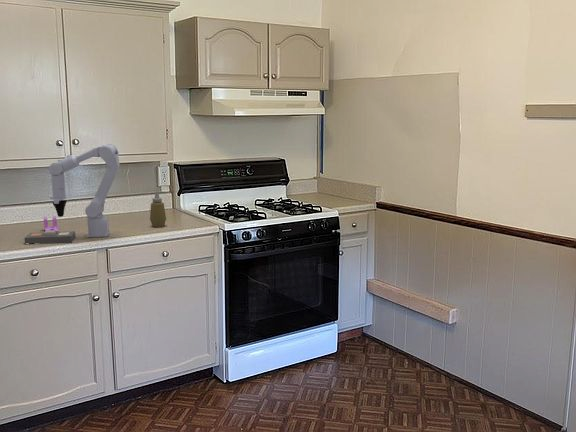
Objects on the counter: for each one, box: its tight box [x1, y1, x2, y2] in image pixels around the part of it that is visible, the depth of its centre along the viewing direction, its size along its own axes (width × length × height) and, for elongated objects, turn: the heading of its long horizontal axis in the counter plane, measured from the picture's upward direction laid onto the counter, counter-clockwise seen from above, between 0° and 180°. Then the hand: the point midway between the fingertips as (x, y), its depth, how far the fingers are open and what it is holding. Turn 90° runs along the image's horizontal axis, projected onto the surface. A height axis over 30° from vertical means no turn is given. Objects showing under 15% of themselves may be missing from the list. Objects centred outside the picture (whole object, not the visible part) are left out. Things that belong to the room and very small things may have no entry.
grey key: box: [44, 230, 56, 236], centre depth 271 cm, size 4×4×3 cm
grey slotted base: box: [23, 230, 77, 244], centre depth 272 cm, size 20×10×3 cm, turn 99°
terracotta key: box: [30, 232, 43, 236], centre depth 271 cm, size 4×4×3 cm
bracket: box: [43, 215, 60, 232], centre depth 290 cm, size 13×6×7 cm, turn 27°
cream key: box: [58, 231, 71, 235], centre depth 273 cm, size 4×4×3 cm
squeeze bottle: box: [149, 190, 167, 228], centre depth 302 cm, size 8×8×18 cm
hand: (60, 216), depth 280 cm, fingers closed
